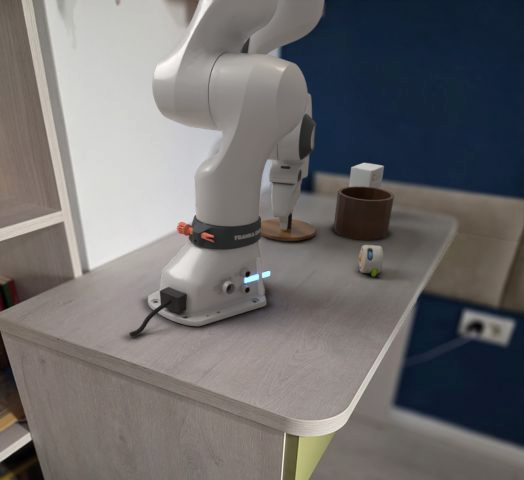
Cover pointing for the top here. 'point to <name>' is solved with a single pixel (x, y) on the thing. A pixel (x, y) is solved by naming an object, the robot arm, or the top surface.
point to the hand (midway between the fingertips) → (285, 225)
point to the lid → (293, 232)
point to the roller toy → (371, 259)
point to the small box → (366, 175)
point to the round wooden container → (363, 212)
